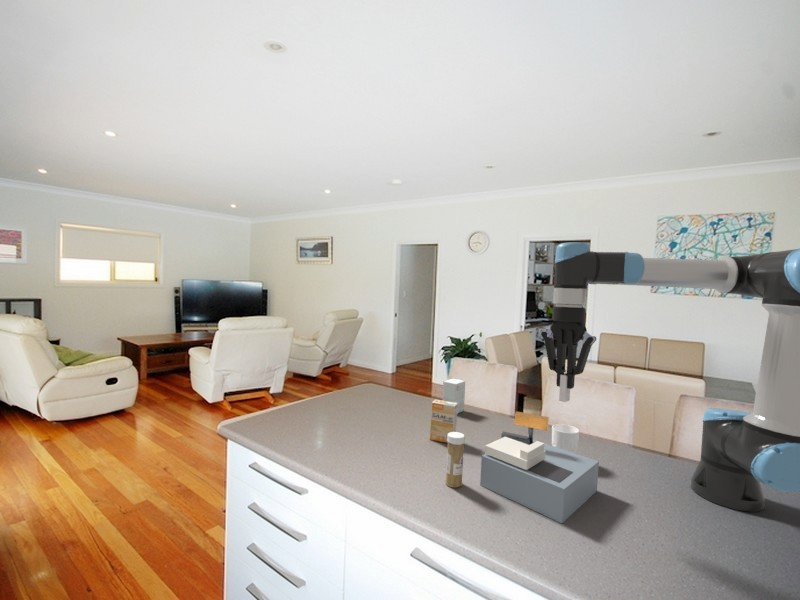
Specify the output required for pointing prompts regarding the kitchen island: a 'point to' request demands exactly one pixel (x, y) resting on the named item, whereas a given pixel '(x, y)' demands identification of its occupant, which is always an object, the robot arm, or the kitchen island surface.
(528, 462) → the cover
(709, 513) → the kitchen island surface
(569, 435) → the white cup
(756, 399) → the robot arm
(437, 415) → the supplement box
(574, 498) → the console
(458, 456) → the sprinkles bottle
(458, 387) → the small box
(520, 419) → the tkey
